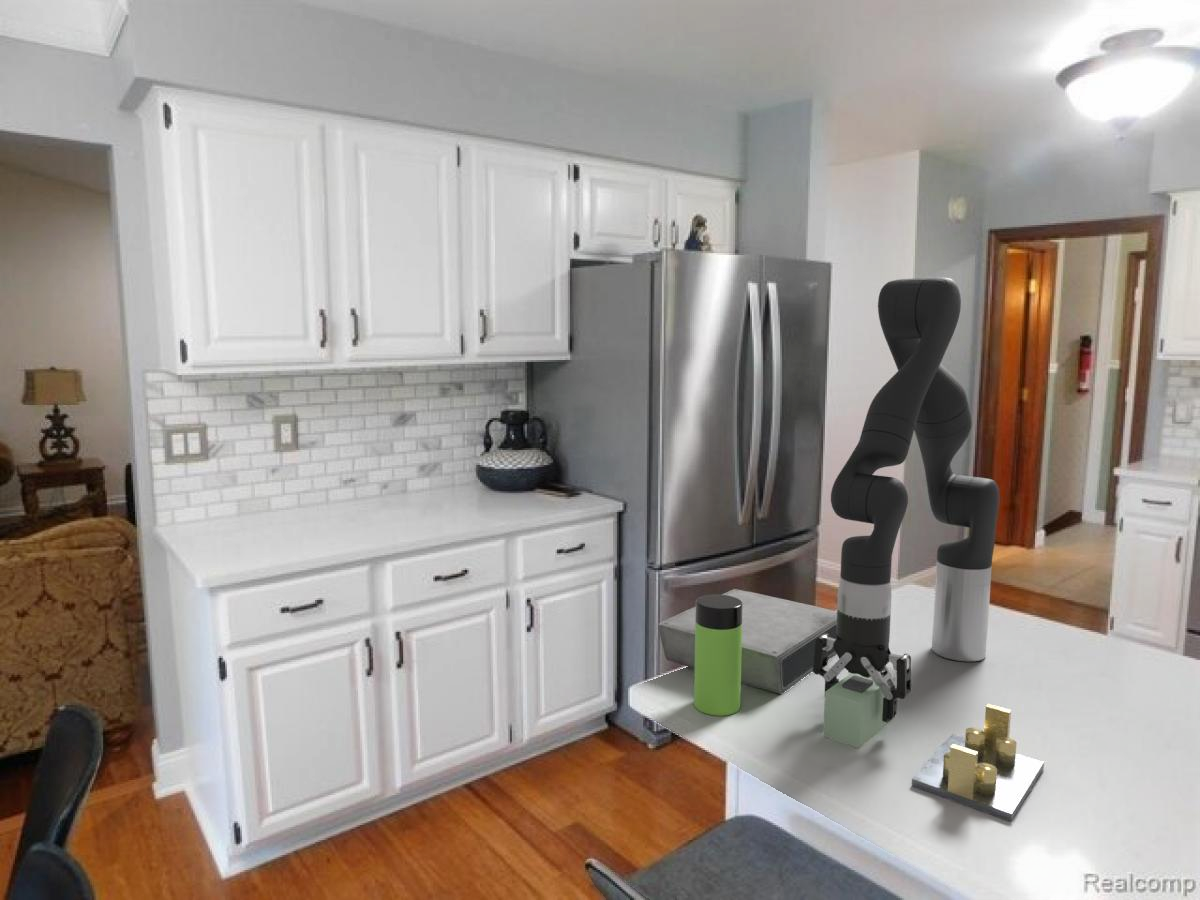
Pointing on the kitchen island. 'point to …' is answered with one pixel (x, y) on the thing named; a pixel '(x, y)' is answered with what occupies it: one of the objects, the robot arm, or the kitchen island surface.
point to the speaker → (761, 639)
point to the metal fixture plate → (982, 768)
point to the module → (853, 710)
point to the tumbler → (718, 654)
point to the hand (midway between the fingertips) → (859, 711)
